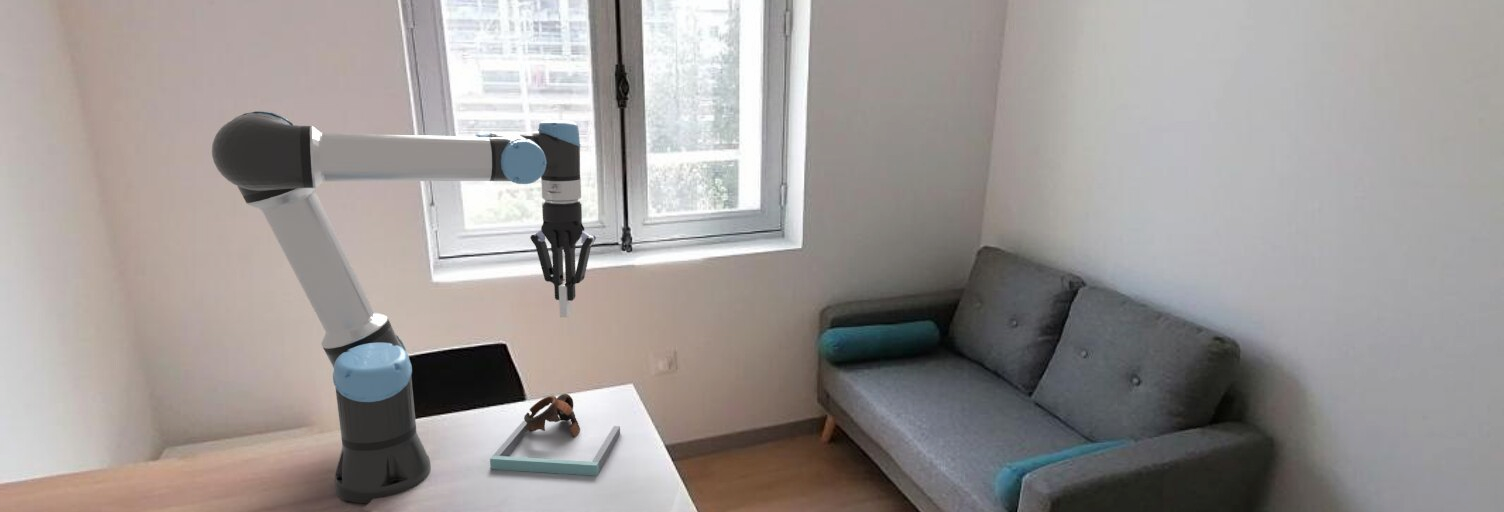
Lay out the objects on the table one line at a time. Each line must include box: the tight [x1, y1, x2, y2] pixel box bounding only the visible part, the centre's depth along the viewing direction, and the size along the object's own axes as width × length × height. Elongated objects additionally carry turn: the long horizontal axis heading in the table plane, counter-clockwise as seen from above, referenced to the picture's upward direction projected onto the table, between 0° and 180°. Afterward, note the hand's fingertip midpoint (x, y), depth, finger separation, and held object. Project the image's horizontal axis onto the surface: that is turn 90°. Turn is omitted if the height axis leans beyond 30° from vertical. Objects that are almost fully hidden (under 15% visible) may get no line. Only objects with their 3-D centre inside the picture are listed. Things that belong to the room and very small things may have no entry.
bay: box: [489, 420, 621, 477], centre depth 146 cm, size 19×16×2 cm
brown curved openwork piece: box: [523, 393, 581, 438], centre depth 153 cm, size 12×9×8 cm
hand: (565, 315), depth 159 cm, fingers closed
